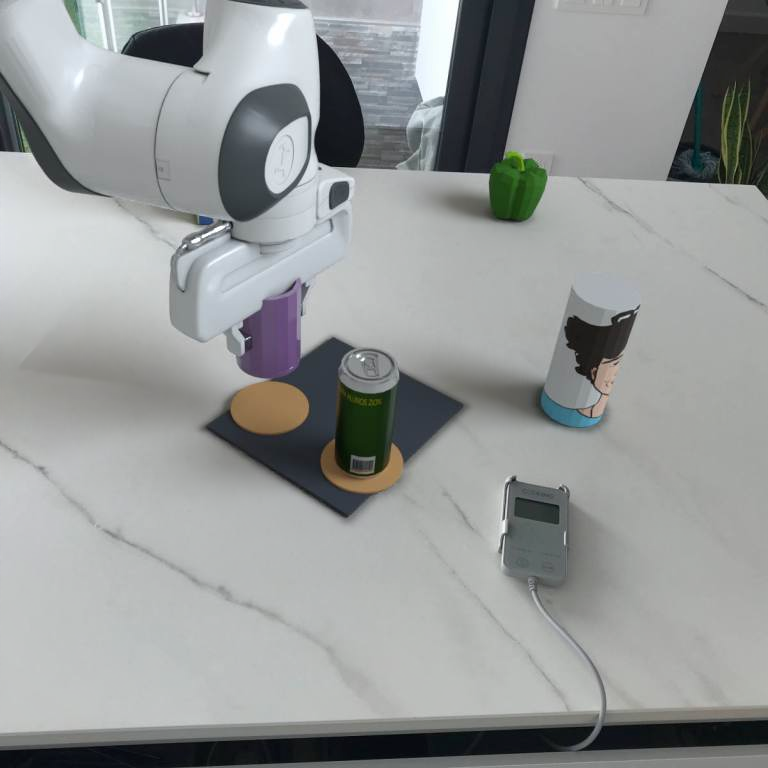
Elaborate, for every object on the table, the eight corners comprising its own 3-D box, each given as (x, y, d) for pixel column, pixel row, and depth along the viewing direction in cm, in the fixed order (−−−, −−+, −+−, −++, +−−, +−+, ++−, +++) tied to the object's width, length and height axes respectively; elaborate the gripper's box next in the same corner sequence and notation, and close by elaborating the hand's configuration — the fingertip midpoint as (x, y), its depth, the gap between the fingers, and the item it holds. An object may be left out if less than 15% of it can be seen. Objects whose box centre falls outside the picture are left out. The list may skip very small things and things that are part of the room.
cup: (588, 436, 81) (628, 319, 71) (530, 409, 84) (561, 292, 74) (611, 403, 85) (652, 288, 76) (555, 378, 88) (588, 264, 78)
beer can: (394, 479, 73) (406, 382, 66) (337, 484, 72) (343, 386, 65) (383, 440, 77) (393, 344, 70) (330, 444, 76) (334, 347, 69)
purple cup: (270, 387, 73) (268, 308, 67) (222, 360, 75) (216, 281, 69) (313, 357, 77) (314, 279, 71) (266, 332, 79) (264, 255, 73)
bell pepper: (538, 205, 121) (551, 144, 115) (538, 230, 115) (553, 166, 109) (484, 198, 122) (495, 136, 115) (482, 222, 115) (493, 158, 109)
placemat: (356, 523, 70) (356, 518, 69) (199, 423, 78) (199, 418, 78) (471, 411, 83) (472, 406, 82) (326, 335, 91) (326, 331, 90)
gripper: (199, 260, 57) (211, 401, 66) (367, 174, 70) (358, 301, 79) (141, 230, 60) (160, 370, 68) (313, 153, 73) (311, 278, 82)
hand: (268, 332), depth 74 cm, fingers closed on purple cup, 6 cm apart
